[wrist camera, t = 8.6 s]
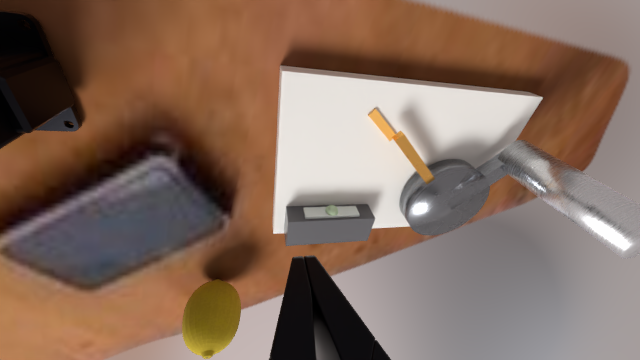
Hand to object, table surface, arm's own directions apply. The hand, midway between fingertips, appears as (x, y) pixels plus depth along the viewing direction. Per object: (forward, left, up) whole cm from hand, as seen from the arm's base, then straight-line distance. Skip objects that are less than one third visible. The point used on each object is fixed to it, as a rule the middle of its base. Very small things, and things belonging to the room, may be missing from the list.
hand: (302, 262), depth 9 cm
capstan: (+15, -2, -11) cm, 19 cm away
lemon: (-6, -20, -13) cm, 25 cm away
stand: (+11, -4, -13) cm, 17 cm away
